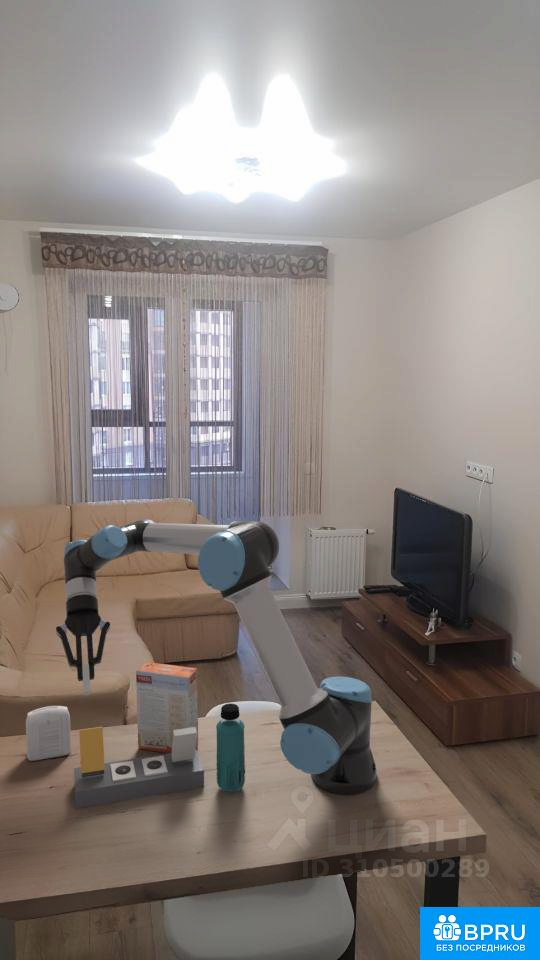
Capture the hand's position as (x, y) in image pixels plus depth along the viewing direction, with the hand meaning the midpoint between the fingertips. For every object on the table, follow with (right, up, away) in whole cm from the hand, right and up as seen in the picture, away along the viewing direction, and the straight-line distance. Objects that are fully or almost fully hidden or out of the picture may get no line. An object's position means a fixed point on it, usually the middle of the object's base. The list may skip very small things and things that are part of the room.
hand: (86, 693), depth 160 cm
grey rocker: (+22, -15, 0) cm, 27 cm away
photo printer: (-12, -18, +10) cm, 24 cm away
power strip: (+12, -20, -2) cm, 24 cm away
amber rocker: (+3, -16, -6) cm, 17 cm away
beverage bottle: (+33, -21, -3) cm, 39 cm away
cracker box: (+17, -18, +14) cm, 28 cm away
